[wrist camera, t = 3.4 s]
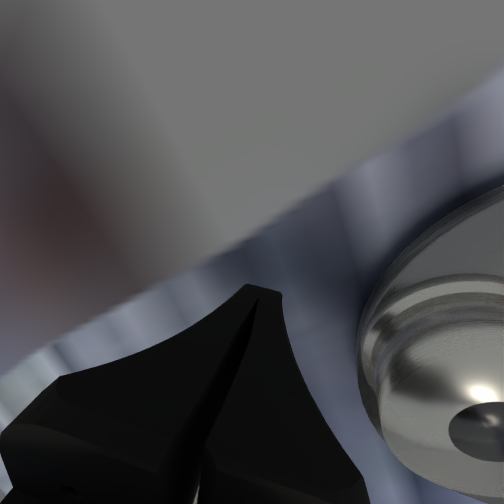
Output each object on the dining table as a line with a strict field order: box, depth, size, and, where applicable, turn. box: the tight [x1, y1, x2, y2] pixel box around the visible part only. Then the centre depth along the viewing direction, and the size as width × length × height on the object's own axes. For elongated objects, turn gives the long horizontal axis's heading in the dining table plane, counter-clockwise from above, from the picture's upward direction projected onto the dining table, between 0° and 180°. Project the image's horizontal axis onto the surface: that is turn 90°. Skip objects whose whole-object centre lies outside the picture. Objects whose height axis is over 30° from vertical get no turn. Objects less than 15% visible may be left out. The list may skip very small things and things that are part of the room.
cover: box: [361, 273, 504, 498], centre depth 9 cm, size 6×6×3 cm
